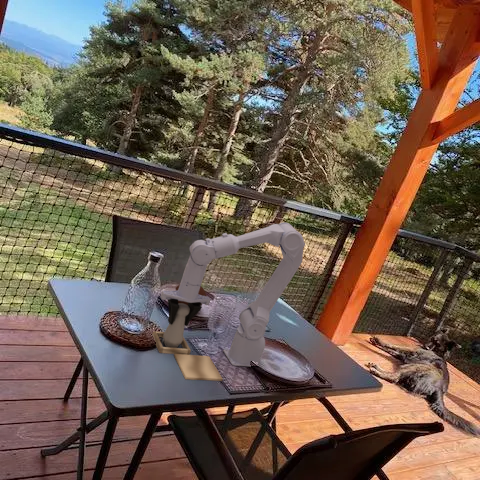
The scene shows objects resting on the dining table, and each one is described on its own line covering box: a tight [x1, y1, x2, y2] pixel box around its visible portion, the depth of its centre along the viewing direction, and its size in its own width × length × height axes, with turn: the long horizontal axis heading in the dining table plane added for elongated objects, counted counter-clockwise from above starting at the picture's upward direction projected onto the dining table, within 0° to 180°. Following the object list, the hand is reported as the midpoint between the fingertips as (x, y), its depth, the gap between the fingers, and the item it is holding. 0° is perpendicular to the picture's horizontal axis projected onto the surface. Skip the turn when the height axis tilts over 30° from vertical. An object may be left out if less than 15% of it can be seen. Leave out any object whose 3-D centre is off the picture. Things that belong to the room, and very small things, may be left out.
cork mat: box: [173, 354, 224, 382], centre depth 127 cm, size 11×11×1 cm
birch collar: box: [151, 330, 192, 355], centre depth 134 cm, size 9×9×2 cm
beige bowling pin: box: [162, 303, 190, 348], centre depth 133 cm, size 6×6×13 cm
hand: (177, 323), depth 133 cm, fingers closed on beige bowling pin, 4 cm apart
